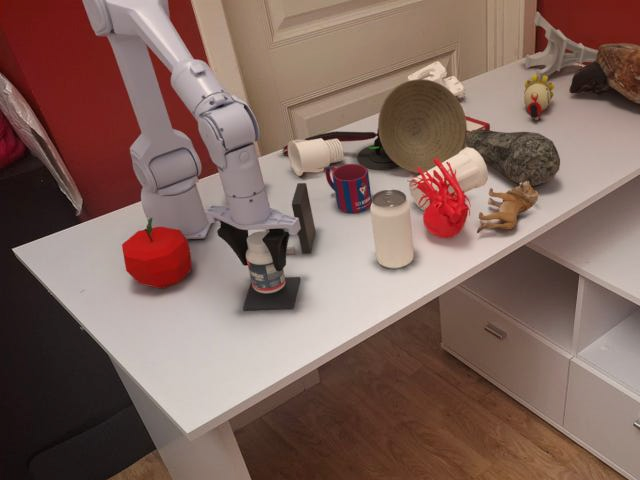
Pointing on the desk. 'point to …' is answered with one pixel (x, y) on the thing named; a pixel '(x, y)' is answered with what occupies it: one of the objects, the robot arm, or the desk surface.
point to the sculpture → (611, 72)
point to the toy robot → (376, 157)
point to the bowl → (421, 124)
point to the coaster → (273, 297)
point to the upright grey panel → (303, 219)
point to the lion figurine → (509, 206)
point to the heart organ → (443, 202)
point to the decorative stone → (517, 154)
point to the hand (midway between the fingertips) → (264, 265)
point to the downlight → (313, 154)
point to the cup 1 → (350, 187)
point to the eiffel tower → (558, 51)
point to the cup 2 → (467, 174)
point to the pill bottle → (262, 266)
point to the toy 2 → (537, 95)
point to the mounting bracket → (436, 74)
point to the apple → (157, 256)
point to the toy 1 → (340, 137)
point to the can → (392, 228)
